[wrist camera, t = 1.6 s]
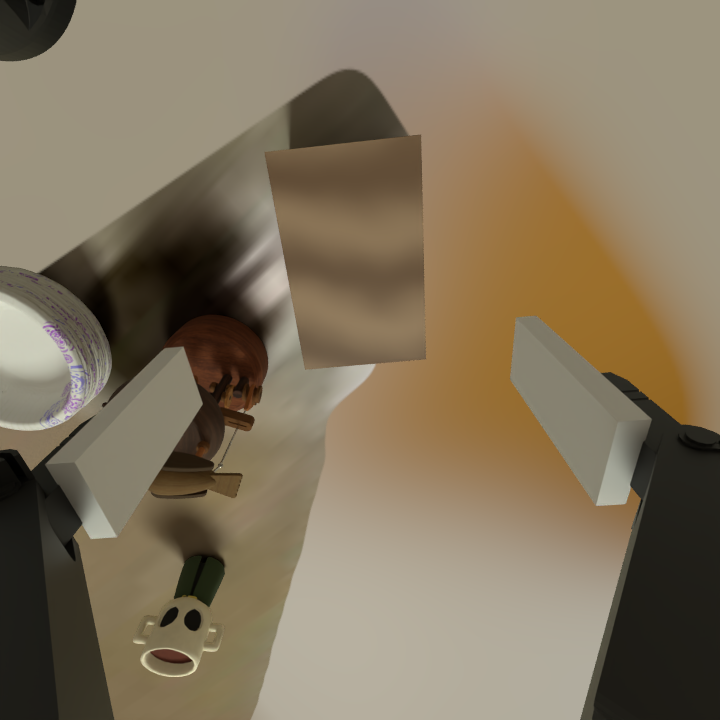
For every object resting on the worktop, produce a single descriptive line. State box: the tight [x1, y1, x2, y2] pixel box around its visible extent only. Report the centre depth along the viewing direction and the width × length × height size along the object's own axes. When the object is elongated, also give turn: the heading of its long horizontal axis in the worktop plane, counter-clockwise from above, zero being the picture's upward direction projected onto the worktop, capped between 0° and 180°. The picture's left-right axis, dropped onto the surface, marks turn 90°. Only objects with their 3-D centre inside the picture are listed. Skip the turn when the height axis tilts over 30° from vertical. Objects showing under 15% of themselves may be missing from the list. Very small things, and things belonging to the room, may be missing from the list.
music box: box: [102, 315, 268, 499], centre depth 35 cm, size 15×11×20 cm
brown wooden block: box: [265, 135, 426, 370], centre depth 33 cm, size 16×10×10 cm, turn 6°
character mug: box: [133, 556, 225, 677], centre depth 54 cm, size 11×7×13 cm, turn 78°
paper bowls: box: [0, 266, 112, 430], centre depth 38 cm, size 15×15×8 cm
